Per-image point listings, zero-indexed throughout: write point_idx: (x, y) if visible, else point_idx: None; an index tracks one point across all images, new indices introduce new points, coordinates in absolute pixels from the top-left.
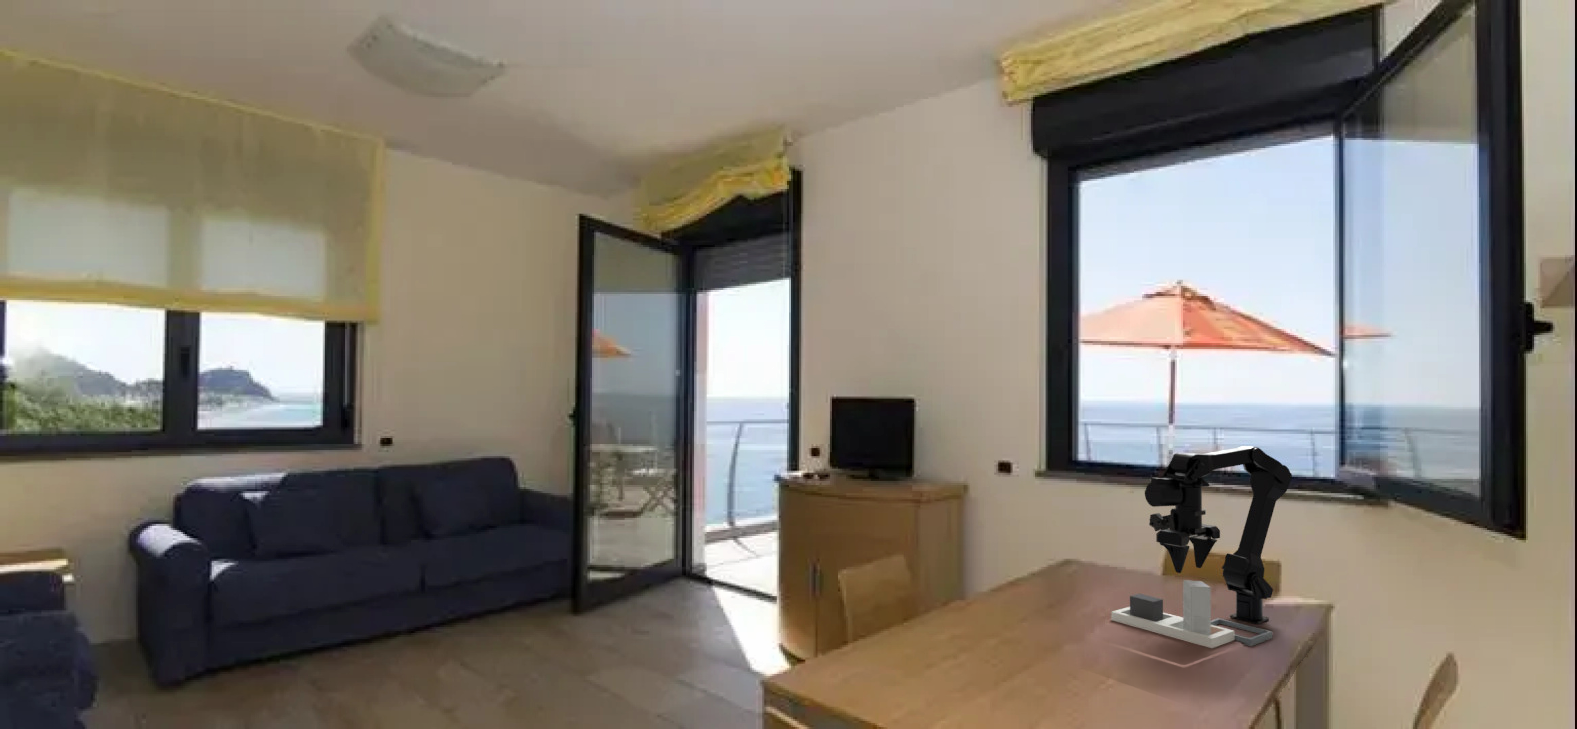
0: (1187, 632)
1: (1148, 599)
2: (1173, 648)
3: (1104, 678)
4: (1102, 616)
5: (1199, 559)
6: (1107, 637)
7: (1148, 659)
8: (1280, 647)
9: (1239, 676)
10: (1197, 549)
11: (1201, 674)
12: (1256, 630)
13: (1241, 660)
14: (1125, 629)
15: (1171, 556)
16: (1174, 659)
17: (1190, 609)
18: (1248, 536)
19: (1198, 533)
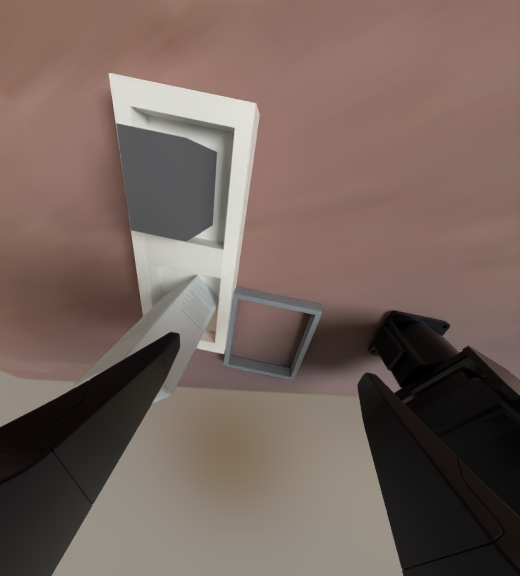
0: (141, 302)
1: (141, 205)
2: (108, 282)
3: None
4: (159, 18)
5: (379, 427)
6: (25, 154)
7: (23, 269)
8: (253, 380)
9: None
10: (435, 510)
11: (57, 333)
12: (295, 361)
13: None
14: (115, 160)
15: (67, 398)
16: (66, 297)
17: (128, 332)
18: None
19: None
